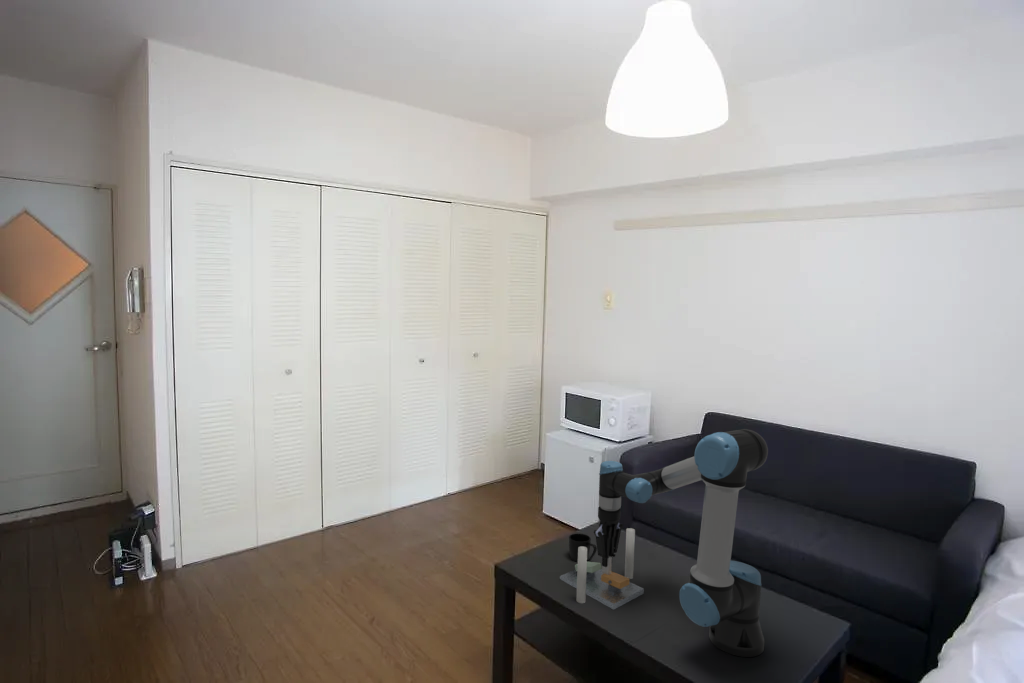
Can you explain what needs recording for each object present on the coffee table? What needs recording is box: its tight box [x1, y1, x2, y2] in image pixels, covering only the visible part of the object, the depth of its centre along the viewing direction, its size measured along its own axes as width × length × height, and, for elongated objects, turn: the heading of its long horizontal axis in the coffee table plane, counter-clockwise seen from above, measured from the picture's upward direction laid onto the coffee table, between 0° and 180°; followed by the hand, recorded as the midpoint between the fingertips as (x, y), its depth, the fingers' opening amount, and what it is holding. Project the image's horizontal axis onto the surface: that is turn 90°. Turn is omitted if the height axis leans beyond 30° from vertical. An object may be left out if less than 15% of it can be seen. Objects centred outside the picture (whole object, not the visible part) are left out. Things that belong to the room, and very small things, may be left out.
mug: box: [568, 533, 598, 563], centre depth 214 cm, size 8×12×10 cm
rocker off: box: [601, 570, 630, 589], centre depth 191 cm, size 8×6×2 cm
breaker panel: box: [559, 569, 645, 610], centre depth 195 cm, size 24×16×4 cm, turn 41°
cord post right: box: [624, 527, 636, 580], centre depth 202 cm, size 3×3×18 cm
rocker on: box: [574, 561, 602, 573], centre depth 200 cm, size 8×6×2 cm
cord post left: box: [575, 546, 588, 604], centre depth 185 cm, size 3×3×18 cm
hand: (606, 574), depth 194 cm, fingers closed, pressing on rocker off
